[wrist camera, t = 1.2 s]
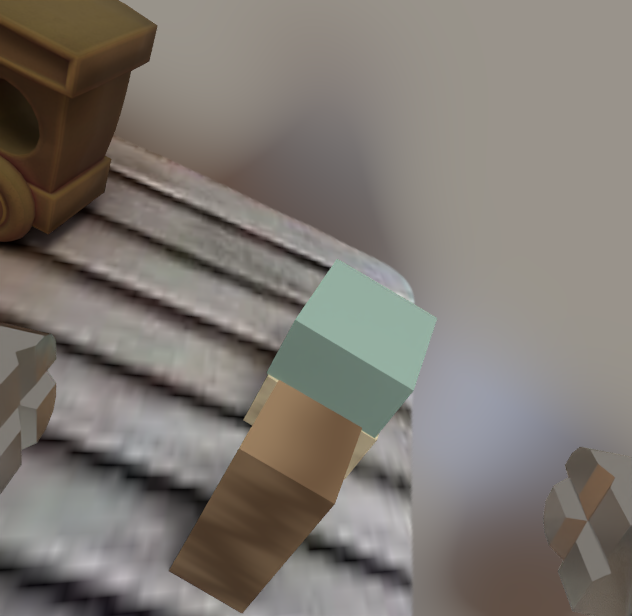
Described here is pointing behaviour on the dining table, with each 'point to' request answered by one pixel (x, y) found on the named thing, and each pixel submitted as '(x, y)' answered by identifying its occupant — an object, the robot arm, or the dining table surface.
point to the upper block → (355, 348)
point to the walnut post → (268, 497)
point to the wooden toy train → (61, 104)
